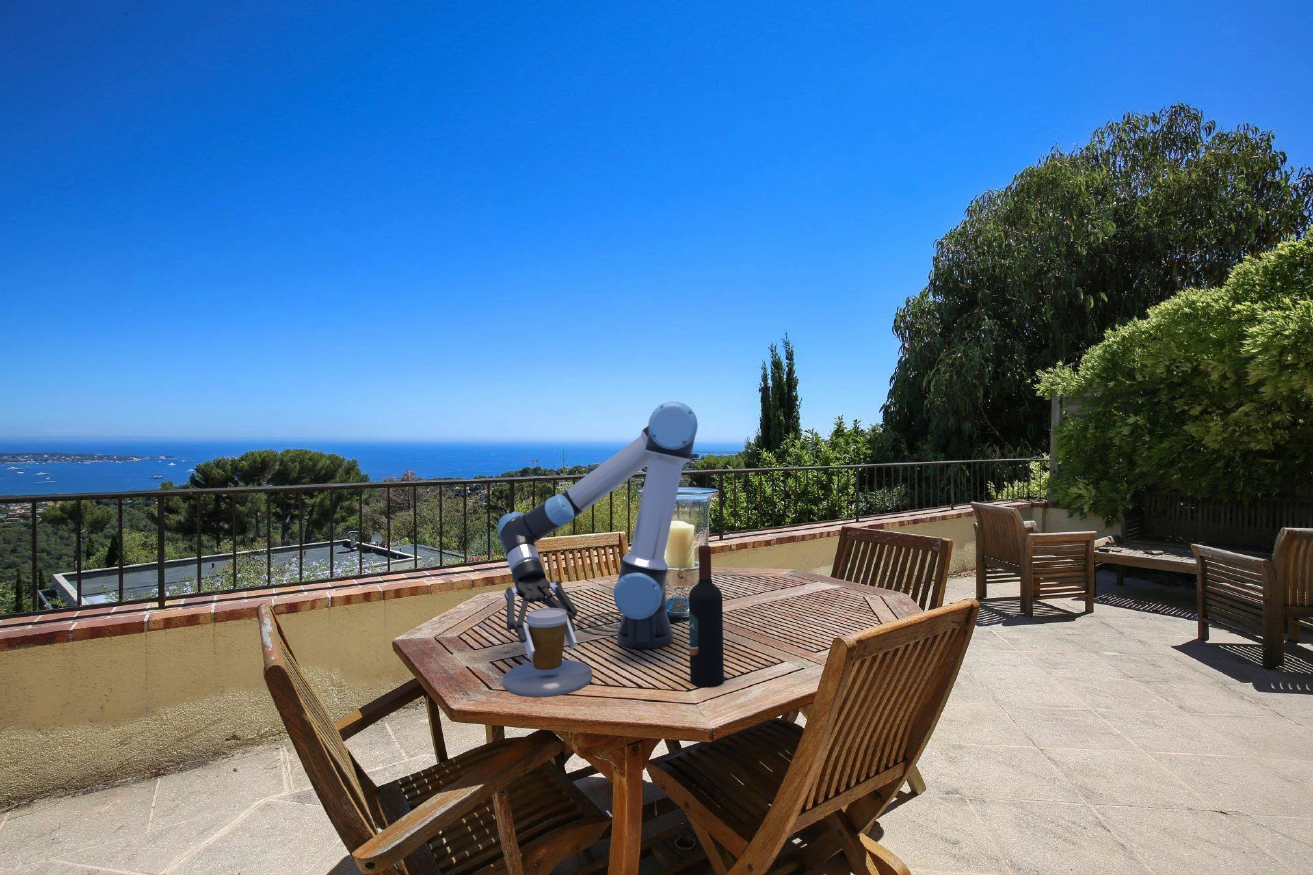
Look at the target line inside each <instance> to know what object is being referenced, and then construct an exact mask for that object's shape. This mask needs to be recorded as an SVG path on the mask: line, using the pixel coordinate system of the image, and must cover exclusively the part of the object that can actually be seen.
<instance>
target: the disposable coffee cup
mask: <svg viewBox="0 0 1313 875" xmlns="http://www.w3.org/2000/svg"><path fill="white" fill-rule="evenodd" d="M567 619H568V616H567V614H566V611H565V610H563V609H559V608H550V607H544V608H537V609H534V610H531V611H529V612H528V613H527V617H525V622H526V623H527V624H526V625H527V627H528V630H529V633H530V636H531V640H532V643H533V646H534V649H535V651H534V653H533V655H532V657H531V658H532V662H533V665H534V668H535V669H538V670H552V669H556V668H558V667H560V666H561V665H562V660H563V655H564V654H563V653H564V648H565V647H564V645H565V638H566V635H565V629H566V622H567Z"/></svg>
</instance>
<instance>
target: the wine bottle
mask: <svg viewBox="0 0 1313 875" xmlns="http://www.w3.org/2000/svg"><path fill="white" fill-rule="evenodd" d="M697 554H698V582H697V583H696V585H694V586H693V587H692V588H691V589H690V591H689V594H688V624H689V625H688V628H689V635H688V636H689V637H688V638H689V683H690V684H692V685H693V684H694V685H693V686H695V685H696V686H695V687H699V688H716V687H720V686H722V685H723V684H725V673H724V672H725V671H724V670H725V669H724V666H725V665H724V622H723V621H724V617H723V616H724V613H723V612H724V611H723V610H724V608H723V593H722V590H720V588H719V587H718V586H716V584H714V583H713V580H712V547H711V545H699V546H698V553H697Z"/></svg>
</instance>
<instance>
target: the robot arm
mask: <svg viewBox="0 0 1313 875" xmlns="http://www.w3.org/2000/svg"><path fill="white" fill-rule="evenodd" d="M647 424H648V425H647V426H646V427H644V428H643V429H642V430H641V432H640V436H639V437H637V438H636V439H634V440H633V441H632V442H630V443H629V444H627V445H626V446H624V447H623V448H622V449H621V450H619V451H618V452H617V453H615V454H613V456H611V457H610V458H608V459H607V460H606V461H604V462H602V463H601V465H598V467H596V468H595V469H593V470H592V471H591V472H590V473H588V474H587V475H585V476H584V477H581V479H580V480H579V481H577V482H576V483H574V484H573V485H572V486H570V487H569V488H567V489H566V490H564V491H563V492H562V493H558V494H556V495H554V496H551V497H550V498H548V499H546V501H544V502H542V503H541V504H539V505H538V506H536V507H534V508H533V509H532V510H530V511H528V512H526V513H525V514H524V513H522V512H520V511H512V512H511V513H506V514H504V515H503V516H502V517H500V519H499V520H498V523H497V528H498V533H499V539H500V541H501V544H502V547H503V549H504V553H505V556H506V560H507V563H508V567H509V569H510V572H511V576H512V580H513V583H514V586H515V587H511V586H508V587H506V590H505V592H504V598H505V600H506V630H508V631H511V630H514V633H515V634H517V638H518V641H519V643H520V644H523V645H524V647H525V651H526V654H527V658H528V659H529V658H533V657H532V655H533V653H534V651H535V649H534V646H533V643H532V640H531V636H530V633H529V627H528V624H524V621H525V619H526V613H527V610H528V606H529V604H534V603H535V602H537V603H540V602H541V603H542V604H544V605H546V606H548V608H559V609H563V610H565V611H566V614H567V616H568V619H567V622H566V629H565V638H566V641H567V643H568V646H569V648H570V650H573V649H574V648H575V647H576V645H577V643H578V641H577V639H576V638H577V637H576V635H575V632H576V626H575V623H574V619H575V618H576V616H577V615H578V609H577V608H576V606H575V605H574V603H573V602H572V600H571V599H570V598H569V596H568V594H567V593H566V591H565V590H564V589H563V585H562V582H561V580H559V579H558V580H556V581H555V582H549V580H548V579H547V577H546V572H545V570H544V567H543V564H542V563H541V562H542V561H541V559H540V556H539V552H538V549H537V547H536V542H538V541H540V540H542V539H543V538H545V537H546V536H548V535H550V534H551V533H553V532H555V531H556V530H558V529H561V528H562V527H563V526H566V525H568V524H570V523H571V522H573V520H575V518H577V517H578V516H579V515H581V514H582V513H583V512H585V511H586V510H587V509H589V508H590V507H591V506H594V505H595V504H596V503H598V501H600V500H601V499H603V498H604V497H606V496H607V495H608V494H609V493H612V491H614V490H615V489H617V488H618V487H619V486H621V485H622V484H624V483H626V481H628V480H629V479H630V478H632V477H633V476H635V475H636V474H638V473H639V472H640V471H641V470H643V469H644V468H645V467H647V468H646V474H645V478H644V484H643V488H642V493H641V498H640V502H639V506H638V511H637V512H638V513H637V517H636V521H635V527H634V532H633V537H632V541H631V546H630V551H629V552H628V553H627V554H625V555H624V556H623V557H622V559H621V560H622V561H621V563H620V564H621V565H620V569H619V573H618V580H617V582H616V583H615V585H614V587H613V601H614V604H615V607H616V608H617V610H619V612H620V613H621V614H622V617H621V619H620V623H619V626H618V629H617V633H616V638H617V639H616V641H617V644H618V645H619V646H622V647H624V648H628V649H634V650H635V649H636V650H653V649H659V648H663V647H666V646H668V645H670V644H672V643H673V642H674V640H673V639H674V632H673V629H672V626H671V622H670V619H669V617H668V614H667V597H666V595H667V594H666V585H667V584H666V580H667V579H666V578H667V573H668V569H669V566H668V564H667V563H666V559H665V554H666V549H667V544H668V540H669V536H670V529H671V525H672V520H673V515H674V511H675V510H674V509H675V506H676V502H677V496H678V492H679V487H680V481H681V478H682V477H681V476H682V473H683V472H682V471H683V467H684V465H685V464H687V463H688V462H690V461H691V458H692V453H693V449H694V444H695V438H696V435H697V432H698V424H699V422H698V418H697V415H696V413H695V412H694V411H693V409H692V408H691V407H690V406H689V405H687V404H685V403H682V402H679V401H667V402H664V403H662V404H660V405H658V406H657V407H656V408H655V409H654V410H653V411H652V412H651V415H650V416H649V419H648V423H647ZM550 590H551V591H552V592H551V591H550ZM553 593H554V595H555V597H556V598H555V597H554V595H553ZM516 595H517V596H519V597H520V598H521V599H522V602H521V605H520V609H519V613H518V617H517V619H516V618H515V616H516V615H515V614H516V613H515V610H516V609H515V602H516V601H515V598H516ZM515 619H516V620H517V621H516V620H515Z"/></svg>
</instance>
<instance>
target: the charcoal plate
mask: <svg viewBox="0 0 1313 875" xmlns="http://www.w3.org/2000/svg"><path fill="white" fill-rule="evenodd" d="M591 681H593V670H592V668H591V667H590V666H589V665H588V664H586V663H583V662H580V661H577V660H571V659H562V665H561V666H560V667H558V668H556V669H552V670H538V669H535V668H534V665H533V661H531V662H526V663H523V664H520V665H517V666H515V667H513V668H511V669H509V670H507V671H506V672H505V673H504V675H503V676H502V686H503V688H504V689H505V690H506V691H507V692H509V693H511V694H513V695H517V696H521V697H528V698H529V697H530V698H531V697H532V698H546V697H556V696H557V697H558V696H563V695H567V694H570V693H574V692H577V691H579V690H581V689H583V688H585V687H587V686H588V685H589V684H590V683H591Z"/></svg>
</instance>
